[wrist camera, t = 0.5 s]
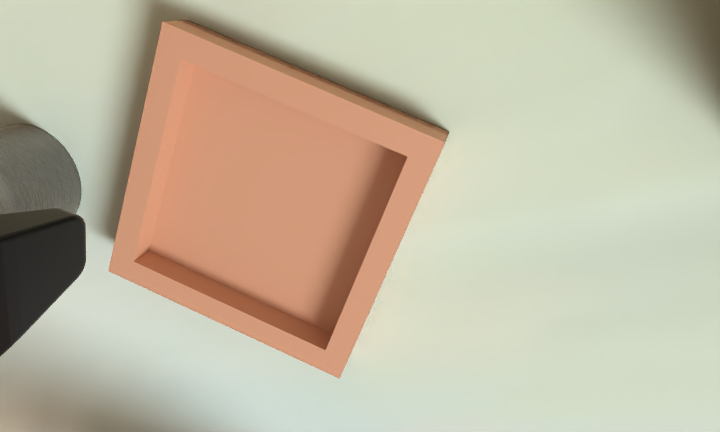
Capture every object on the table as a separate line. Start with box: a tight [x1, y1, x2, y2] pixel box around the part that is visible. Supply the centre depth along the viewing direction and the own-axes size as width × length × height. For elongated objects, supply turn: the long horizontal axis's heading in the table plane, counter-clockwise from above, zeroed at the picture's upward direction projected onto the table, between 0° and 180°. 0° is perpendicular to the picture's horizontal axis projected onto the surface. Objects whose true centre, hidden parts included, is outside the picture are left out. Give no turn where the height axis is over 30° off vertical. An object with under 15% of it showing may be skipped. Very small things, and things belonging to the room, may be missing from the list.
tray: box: [109, 20, 449, 378], centre depth 24 cm, size 11×11×2 cm
